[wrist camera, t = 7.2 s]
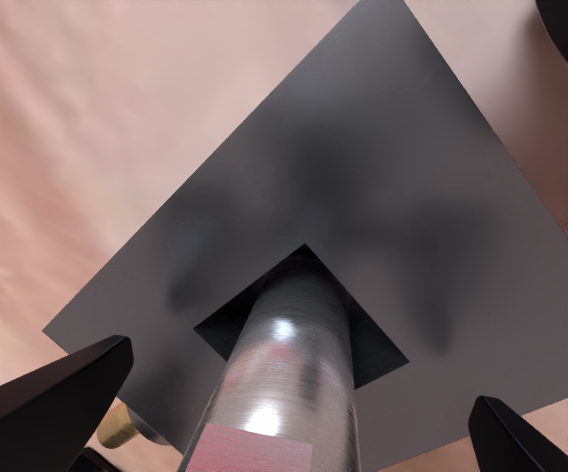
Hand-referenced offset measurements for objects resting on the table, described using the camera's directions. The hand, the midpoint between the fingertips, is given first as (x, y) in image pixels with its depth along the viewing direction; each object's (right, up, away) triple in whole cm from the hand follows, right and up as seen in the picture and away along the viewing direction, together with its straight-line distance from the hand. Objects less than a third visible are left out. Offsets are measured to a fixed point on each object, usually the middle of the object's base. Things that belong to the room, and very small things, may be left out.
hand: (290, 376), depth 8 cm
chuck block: (-1, 0, +7) cm, 7 cm away
